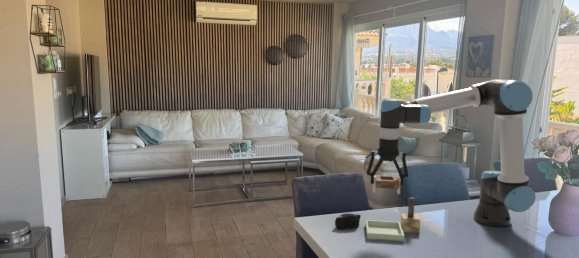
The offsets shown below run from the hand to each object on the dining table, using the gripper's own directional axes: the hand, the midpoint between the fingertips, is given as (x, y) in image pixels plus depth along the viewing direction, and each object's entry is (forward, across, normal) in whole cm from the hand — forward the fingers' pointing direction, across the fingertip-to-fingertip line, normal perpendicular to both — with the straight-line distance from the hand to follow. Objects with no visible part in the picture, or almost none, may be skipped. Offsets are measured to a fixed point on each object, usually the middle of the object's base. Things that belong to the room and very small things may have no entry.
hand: (386, 192), depth 169 cm
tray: (+18, 0, -1) cm, 18 cm away
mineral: (+19, +15, -7) cm, 25 cm away
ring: (-3, 0, 0) cm, 3 cm away
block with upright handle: (+18, -12, -7) cm, 23 cm away
